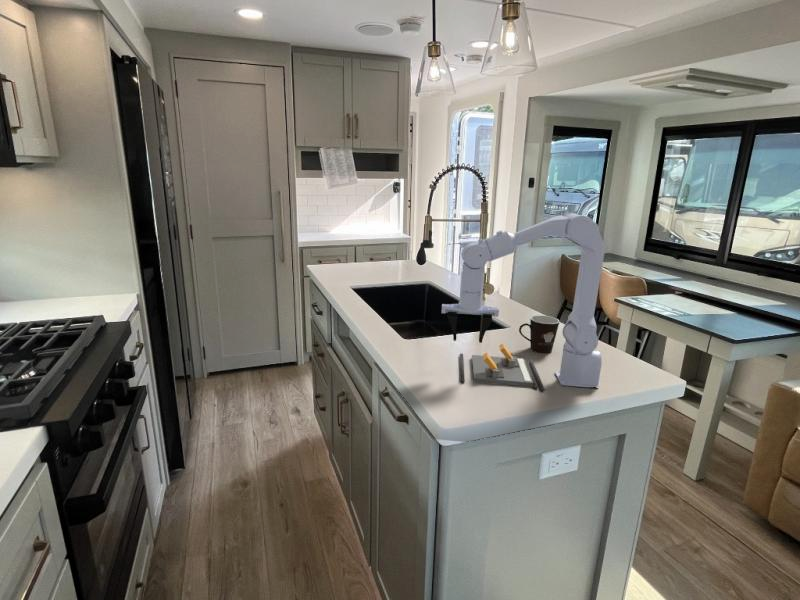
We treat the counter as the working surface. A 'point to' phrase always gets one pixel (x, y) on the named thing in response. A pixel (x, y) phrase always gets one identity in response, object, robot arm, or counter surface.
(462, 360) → the cord far
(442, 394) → the counter surface
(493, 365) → the breaker lever
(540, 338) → the coffee mug
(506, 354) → the breaker lever
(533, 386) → the dark long thin strip
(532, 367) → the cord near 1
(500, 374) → the breaker panel
